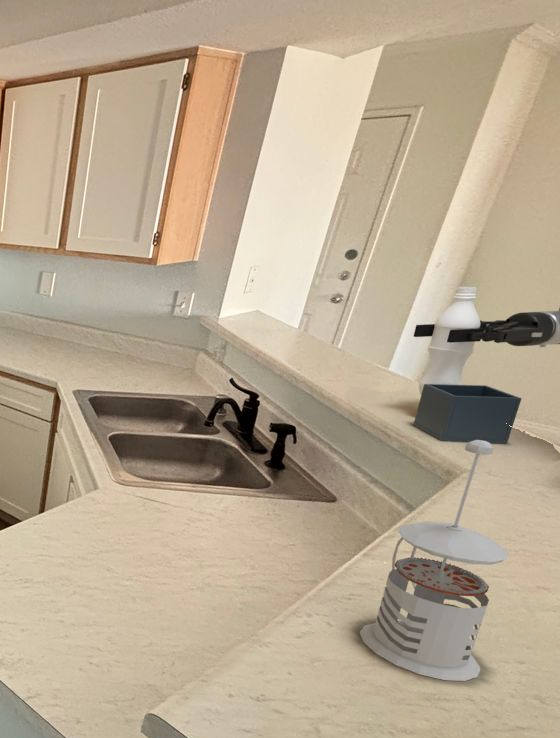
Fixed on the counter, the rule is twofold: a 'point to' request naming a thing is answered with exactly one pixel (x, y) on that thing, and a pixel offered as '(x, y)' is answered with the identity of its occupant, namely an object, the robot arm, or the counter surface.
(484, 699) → the counter surface
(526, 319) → the robot arm
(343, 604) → the counter surface
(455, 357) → the water bottle
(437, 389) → the tub
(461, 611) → the french press
